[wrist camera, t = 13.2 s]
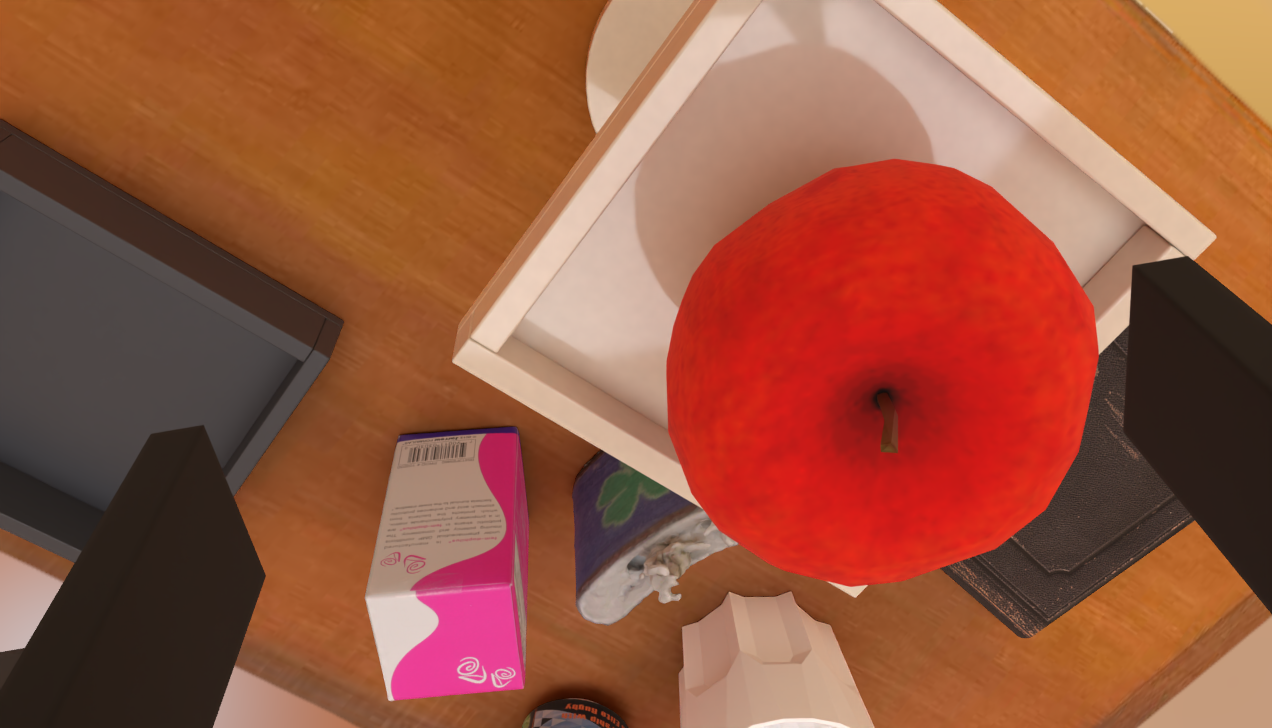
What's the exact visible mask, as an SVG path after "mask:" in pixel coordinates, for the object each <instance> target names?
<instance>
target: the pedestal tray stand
mask: <svg viewBox="0 0 1272 728" xmlns="http://www.w3.org/2000/svg"><path fill="white" fill-rule="evenodd" d="M585 84H586V94H587V104H588V109H589V113H590V117H591V121H592V125H593V127H594V130H595V132H596V136H595V137H594V139H593V140H592V141H591V143H590V144H589V145H588V147H587V148H586V150H585V151H584V152H583V154H582V155H581V156H580V158H579V159H578V161H577V162H576V163H575V165H574V166H573V167H572V169H571V170H570V172H569V173H568V174H567V176H566V177H565V178H564V180H563V181H562V183H561V184H560V185H559V187H558V188H557V189H556V191H555V192H554V193H553V195H552V196H551V198H550V199H549V200H548V202H547V203H546V204H545V206H544V207H543V209H542V210H541V211H540V213H539V214H538V215H537V217H536V218H535V220H534V221H533V222H532V224H531V225H530V226H529V228H528V229H527V231H526V232H525V233H524V235H523V236H522V237H521V239H520V240H519V242H518V243H517V244H516V246H515V247H514V248H513V250H512V251H511V253H510V254H509V255H508V257H507V258H506V259H505V261H504V262H503V264H502V265H501V266H500V268H499V269H498V270H497V272H496V273H495V275H494V276H493V277H492V279H491V280H490V281H489V283H488V284H487V286H486V287H485V288H484V290H483V291H482V292H481V294H480V295H479V297H478V298H477V299H476V301H475V302H474V303H473V305H472V306H471V308H470V309H469V310H468V312H467V313H466V314H465V316H464V317H463V319H462V320H461V321H460V323H459V326H458V331H457V335H456V341H455V347H454V352H453V358H452V362H453V363H454V364H456V365H458V366H459V367H461V368H463V369H464V370H466V371H468V372H470V373H471V374H473V375H475V376H476V377H478V378H480V379H482V380H483V381H485V382H487V383H488V384H490V385H492V386H493V387H495V388H497V389H499V390H500V391H502V392H504V393H505V394H507V395H509V396H511V397H512V398H514V399H516V400H517V401H519V402H521V403H523V404H524V405H526V406H528V407H529V408H531V409H533V410H535V411H536V412H538V413H540V414H541V415H543V416H545V417H546V418H548V419H550V420H552V421H553V422H555V423H557V424H558V425H560V426H562V427H564V428H565V429H567V430H569V431H570V432H572V433H574V434H576V435H577V436H579V437H581V438H582V439H584V440H586V441H588V442H589V443H591V444H593V445H594V446H596V447H598V448H599V449H601V450H603V451H605V452H606V453H608V454H610V455H611V456H613V457H615V458H617V459H618V460H620V461H622V462H623V463H625V464H627V465H629V466H630V467H632V468H634V469H635V470H637V471H639V472H641V473H642V474H644V475H646V476H647V477H649V478H651V479H652V480H654V481H656V482H658V483H659V484H661V485H663V486H664V487H666V488H668V489H670V490H671V491H673V492H675V493H676V494H678V495H680V496H682V497H683V498H685V499H687V500H688V501H690V502H692V503H693V504H695V505H697V506H699V507H700V508H702V507H701V506H700V504H699V503H698V502H697V500H696V499H695V498H694V496H693V495H692V493H691V491H690V488H689V485H688V483H687V480H686V477H685V475H684V472H683V470H682V467H681V464H680V462H679V459H678V456H677V454H676V451H675V449H674V446H673V443H672V441H671V438H670V435H669V433H668V411H667V382H666V361H667V356H668V351H669V345H670V340H671V335H672V330H673V325H674V322H675V319H676V316H677V313H678V310H679V307H680V305H681V302H682V299H683V296H684V294H685V292H686V289H687V287H688V285H689V282H690V280H691V277H692V275H693V274H694V272H695V271H696V270H697V268H698V267H699V265H700V264H701V263H702V261H703V260H704V259H705V257H706V256H707V254H708V253H709V252H710V250H711V249H712V247H713V246H714V245H715V244H716V243H718V242H719V241H720V240H722V239H723V238H724V237H726V236H727V235H728V234H730V233H731V232H732V231H734V230H735V229H736V228H738V227H739V226H740V225H742V224H743V223H744V222H746V221H747V220H748V219H750V218H751V217H752V216H754V215H755V214H756V213H758V212H759V211H760V210H762V209H763V208H764V207H766V206H767V205H768V204H770V203H772V202H773V201H775V200H777V199H779V198H781V197H783V196H784V195H786V194H788V193H790V192H792V191H794V190H795V189H797V188H799V187H801V186H803V185H805V184H806V183H808V182H810V181H812V180H814V179H815V178H817V177H819V176H821V175H823V174H825V173H826V172H828V171H830V170H832V169H834V168H840V167H848V166H855V165H861V164H866V163H872V162H878V161H884V160H889V159H901V160H908V161H916V162H923V163H930V164H937V165H942V166H947V167H952V168H955V169H957V170H959V171H961V172H963V173H965V174H967V175H969V176H971V177H973V178H975V179H977V180H979V181H982V182H984V183H986V184H988V185H990V186H992V187H993V188H994V189H995V190H996V191H997V192H998V193H1000V194H1001V195H1002V196H1003V197H1004V198H1005V199H1006V200H1007V201H1008V202H1010V203H1011V204H1012V205H1013V206H1014V207H1015V208H1016V209H1017V210H1018V211H1019V212H1021V213H1022V214H1023V215H1024V216H1025V217H1026V218H1027V219H1028V220H1029V221H1031V222H1032V223H1033V224H1034V225H1035V226H1036V227H1037V228H1038V229H1039V230H1040V231H1042V232H1043V233H1044V234H1045V235H1046V236H1047V237H1048V238H1049V239H1050V240H1052V241H1053V242H1054V244H1055V246H1056V247H1057V249H1058V250H1059V252H1060V253H1061V255H1062V256H1063V258H1064V260H1065V261H1066V263H1067V264H1068V266H1069V268H1070V269H1071V271H1072V272H1073V274H1074V276H1075V277H1076V279H1077V280H1078V282H1079V284H1080V285H1081V287H1082V288H1083V290H1084V292H1085V293H1086V295H1087V296H1088V298H1089V300H1090V301H1091V303H1092V304H1093V306H1094V313H1095V322H1096V330H1097V339H1098V349H1099V354H1100V353H1101V352H1102V351H1103V350H1104V349H1105V348H1106V347H1107V346H1108V345H1109V344H1110V343H1111V342H1112V341H1113V340H1114V339H1115V338H1116V337H1118V336H1119V335H1120V334H1121V333H1122V332H1123V331H1124V330H1125V329H1126V328H1127V327H1128V326H1129V317H1130V299H1131V281H1132V265H1138V264H1143V263H1149V262H1155V261H1161V260H1167V259H1173V258H1178V257H1184V256H1189V257H1190V258H1191V259H1192V260H1195V259H1196V258H1197V257H1198V256H1199V255H1200V254H1201V253H1202V252H1203V251H1204V250H1205V249H1206V248H1207V247H1208V246H1209V245H1210V244H1211V243H1212V242H1213V241H1214V240H1215V239H1216V235H1215V233H1213V232H1212V231H1211V230H1210V229H1209V228H1207V227H1206V226H1205V225H1204V224H1203V223H1202V222H1200V221H1199V220H1198V219H1197V218H1196V217H1194V216H1193V215H1192V214H1191V213H1190V212H1188V211H1187V210H1186V209H1185V208H1184V207H1182V206H1181V205H1180V204H1179V203H1178V202H1176V201H1175V200H1174V199H1173V198H1172V197H1171V196H1169V195H1168V194H1167V193H1166V192H1165V191H1163V190H1162V189H1161V188H1160V187H1159V186H1157V185H1156V184H1155V183H1154V182H1153V181H1151V180H1150V179H1149V178H1148V177H1147V176H1146V175H1144V174H1143V173H1142V172H1141V171H1140V170H1138V169H1137V168H1136V167H1135V166H1134V165H1132V164H1131V163H1130V162H1129V161H1128V160H1126V159H1125V158H1124V157H1123V156H1122V155H1120V154H1119V153H1118V152H1117V151H1116V150H1115V149H1113V148H1112V147H1111V146H1110V145H1109V144H1107V143H1106V142H1105V141H1104V140H1103V139H1101V138H1100V137H1099V136H1098V135H1097V134H1095V133H1094V132H1093V131H1092V130H1091V129H1090V128H1088V127H1087V126H1086V125H1085V124H1084V123H1082V122H1081V121H1080V120H1079V119H1078V118H1076V117H1075V116H1074V115H1073V114H1072V113H1070V112H1069V111H1068V110H1067V109H1066V108H1065V107H1063V106H1062V105H1061V104H1060V103H1059V102H1057V101H1056V100H1055V99H1054V98H1053V97H1051V96H1050V95H1049V94H1048V93H1047V92H1045V91H1044V90H1043V89H1042V88H1041V87H1039V86H1038V85H1037V84H1036V83H1035V82H1034V81H1032V80H1031V79H1030V78H1029V77H1028V76H1026V75H1025V74H1024V73H1023V72H1022V71H1020V70H1019V69H1018V68H1017V67H1016V66H1014V65H1013V64H1012V63H1011V62H1010V61H1009V60H1007V59H1006V58H1005V57H1004V56H1003V55H1001V54H1000V53H999V52H998V51H997V50H995V49H994V48H993V47H992V46H991V45H989V44H988V43H987V42H986V41H985V40H983V39H982V38H981V37H980V36H979V35H978V34H976V33H975V32H974V31H973V30H972V29H970V28H969V27H968V26H967V25H966V24H964V23H963V22H962V21H961V20H960V19H958V18H957V17H956V16H955V15H954V14H953V13H951V12H950V11H949V10H948V9H947V8H945V7H944V6H943V5H942V4H941V3H939V2H938V1H937V0H608V2H607V3H606V5H605V7H604V8H603V10H602V12H601V14H600V16H599V18H598V21H597V23H596V25H595V27H594V30H593V34H592V37H591V40H590V44H589V48H588V54H587V60H586V77H585ZM702 509H703V508H702ZM827 582H828V581H827ZM829 583H830V584H832V585H834V586H835V587H837V588H839V589H841V590H842V591H844V592H846V593H847V594H849V595H851V596H852V597H854V598H855V597H857V596H858V595H859V594H860V593H861V592H862V591H863V590H864V589H865V588H866V587H867V586H868V585H864V586H855V587H849V586H844V585H840V584H836V583H832V582H829Z"/></svg>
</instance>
